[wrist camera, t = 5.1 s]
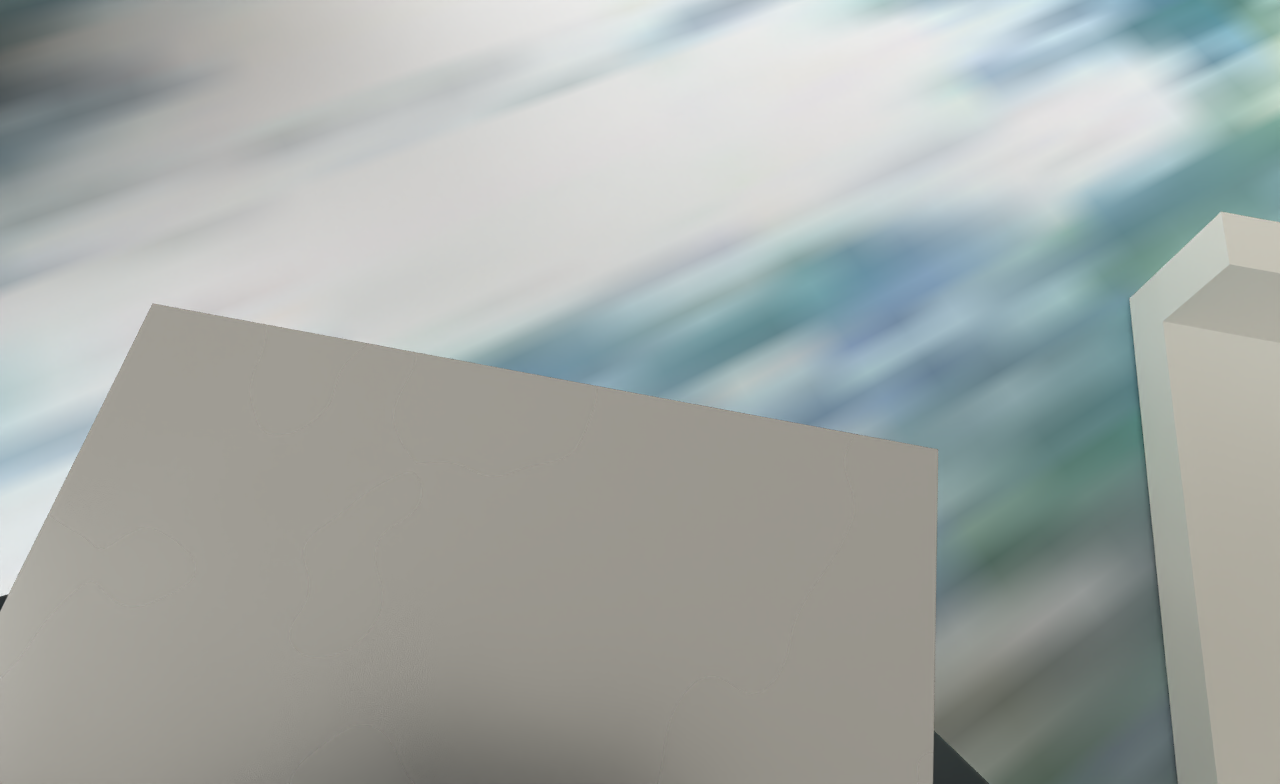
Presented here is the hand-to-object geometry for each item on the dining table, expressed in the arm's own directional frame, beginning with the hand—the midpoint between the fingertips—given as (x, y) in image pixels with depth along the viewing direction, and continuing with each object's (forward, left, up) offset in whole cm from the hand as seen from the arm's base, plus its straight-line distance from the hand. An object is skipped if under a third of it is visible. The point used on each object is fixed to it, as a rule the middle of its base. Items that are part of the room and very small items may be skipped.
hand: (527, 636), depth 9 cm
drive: (-1, +1, -7) cm, 7 cm away
